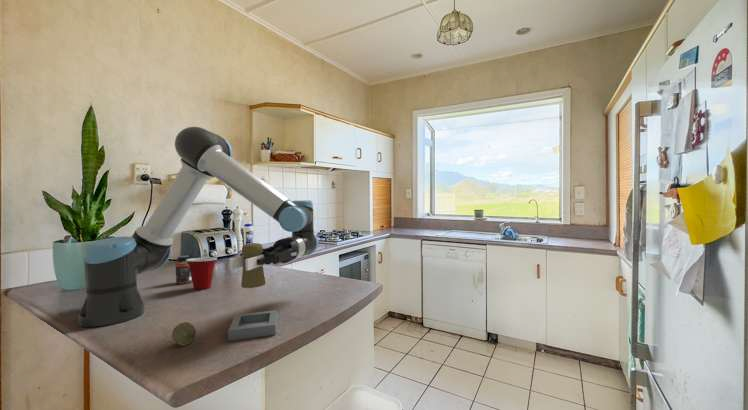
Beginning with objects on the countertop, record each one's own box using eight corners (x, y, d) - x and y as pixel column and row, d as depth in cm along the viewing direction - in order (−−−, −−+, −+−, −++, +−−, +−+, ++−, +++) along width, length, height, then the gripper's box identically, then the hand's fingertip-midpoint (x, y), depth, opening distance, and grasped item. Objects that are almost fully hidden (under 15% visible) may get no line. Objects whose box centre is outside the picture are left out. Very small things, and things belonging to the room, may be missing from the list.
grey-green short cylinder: (197, 338, 77) (197, 318, 77) (188, 347, 72) (187, 326, 72) (178, 340, 76) (178, 319, 76) (168, 349, 71) (167, 327, 71)
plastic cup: (224, 284, 127) (223, 255, 127) (206, 292, 116) (205, 260, 116) (200, 284, 129) (199, 255, 128) (180, 291, 118) (179, 260, 118)
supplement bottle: (195, 281, 132) (194, 255, 132) (180, 285, 127) (179, 258, 127) (188, 280, 135) (187, 254, 135) (173, 283, 130) (172, 256, 130)
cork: (245, 282, 84) (244, 242, 84) (268, 281, 85) (266, 241, 85) (237, 288, 78) (236, 245, 78) (262, 287, 79) (260, 244, 79)
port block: (228, 340, 75) (228, 330, 75) (235, 323, 85) (235, 314, 85) (275, 334, 78) (275, 324, 78) (277, 318, 88) (276, 310, 88)
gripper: (313, 261, 97) (269, 281, 74) (265, 260, 101) (210, 278, 79) (312, 237, 97) (268, 250, 74) (265, 237, 101) (209, 248, 78)
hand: (238, 264), depth 76 cm, fingers closed on cork, 4 cm apart
